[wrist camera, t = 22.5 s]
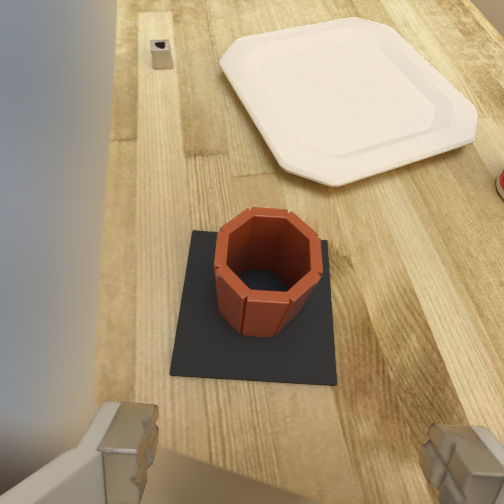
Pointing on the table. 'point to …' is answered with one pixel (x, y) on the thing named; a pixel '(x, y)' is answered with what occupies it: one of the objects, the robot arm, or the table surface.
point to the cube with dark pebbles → (161, 54)
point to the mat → (251, 347)
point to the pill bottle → (500, 184)
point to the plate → (346, 99)
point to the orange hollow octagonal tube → (265, 268)
